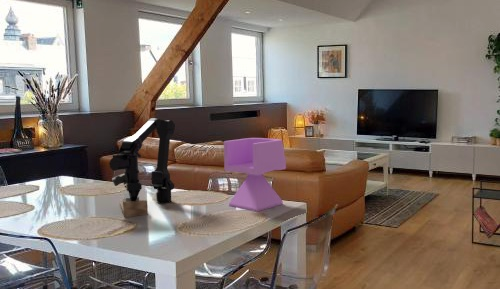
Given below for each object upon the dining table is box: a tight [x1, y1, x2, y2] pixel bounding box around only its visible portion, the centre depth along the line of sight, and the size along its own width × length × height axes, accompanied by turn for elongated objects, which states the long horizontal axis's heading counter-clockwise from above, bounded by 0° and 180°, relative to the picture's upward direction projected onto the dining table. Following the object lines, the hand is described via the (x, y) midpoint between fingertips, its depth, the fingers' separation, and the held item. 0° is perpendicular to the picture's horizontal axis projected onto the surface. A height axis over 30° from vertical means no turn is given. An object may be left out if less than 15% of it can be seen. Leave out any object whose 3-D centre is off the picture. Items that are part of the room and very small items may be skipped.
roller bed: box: [119, 198, 142, 216], centre depth 225 cm, size 10×22×4 cm, turn 19°
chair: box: [223, 137, 287, 213], centre depth 227 cm, size 20×20×30 cm
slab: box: [122, 192, 140, 202], centre depth 230 cm, size 6×12×2 cm, turn 19°
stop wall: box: [122, 199, 149, 218], centre depth 215 cm, size 10×2×6 cm, turn 109°
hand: (132, 202), depth 221 cm, fingers open, 5 cm apart
